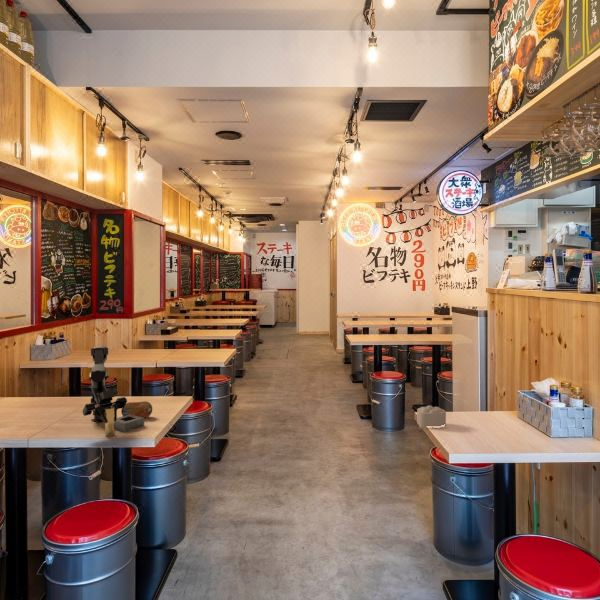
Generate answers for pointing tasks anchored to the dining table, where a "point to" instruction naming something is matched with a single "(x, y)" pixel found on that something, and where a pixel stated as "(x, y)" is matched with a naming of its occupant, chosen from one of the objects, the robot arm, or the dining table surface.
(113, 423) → the bushing
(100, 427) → the dining table surface
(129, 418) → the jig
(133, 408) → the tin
